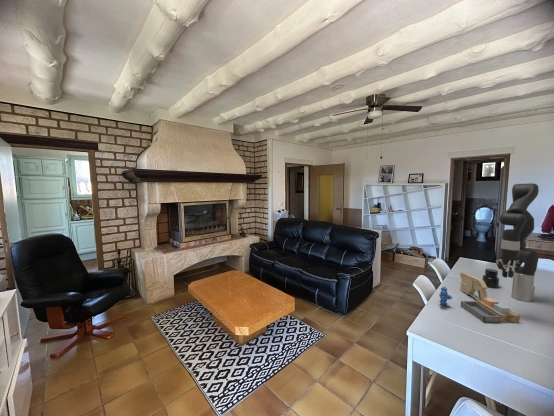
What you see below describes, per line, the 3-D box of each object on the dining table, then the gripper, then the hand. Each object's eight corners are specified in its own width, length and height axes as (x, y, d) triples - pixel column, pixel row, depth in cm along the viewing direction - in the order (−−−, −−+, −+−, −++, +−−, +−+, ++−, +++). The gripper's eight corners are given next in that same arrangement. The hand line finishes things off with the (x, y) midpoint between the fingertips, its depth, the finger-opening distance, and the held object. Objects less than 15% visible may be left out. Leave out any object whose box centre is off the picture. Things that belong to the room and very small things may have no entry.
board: (494, 308, 139) (495, 301, 139) (519, 322, 124) (519, 315, 124) (477, 307, 140) (477, 301, 140) (499, 322, 125) (500, 315, 125)
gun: (488, 307, 140) (488, 282, 140) (482, 306, 141) (482, 282, 141) (464, 292, 164) (464, 271, 164) (459, 292, 165) (459, 271, 164)
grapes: (450, 311, 136) (452, 291, 135) (437, 307, 140) (438, 288, 139) (452, 303, 145) (453, 285, 144) (439, 300, 149) (440, 282, 148)
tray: (474, 306, 141) (475, 301, 141) (500, 323, 124) (500, 316, 124) (460, 306, 142) (461, 300, 141) (483, 322, 125) (484, 316, 124)
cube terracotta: (491, 303, 137) (491, 298, 137) (497, 306, 133) (498, 301, 133) (483, 302, 138) (483, 298, 137) (489, 306, 133) (490, 301, 133)
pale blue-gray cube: (501, 309, 131) (502, 304, 130) (509, 313, 126) (509, 308, 126) (493, 309, 131) (493, 303, 131) (500, 313, 126) (501, 308, 126)
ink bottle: (492, 283, 174) (493, 268, 173) (502, 288, 165) (504, 272, 164) (478, 283, 175) (479, 267, 174) (487, 288, 166) (489, 272, 165)
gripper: (516, 246, 135) (513, 274, 137) (491, 246, 136) (489, 274, 137) (529, 249, 128) (526, 280, 129) (503, 249, 128) (500, 279, 130)
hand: (507, 277), depth 133 cm, fingers closed
